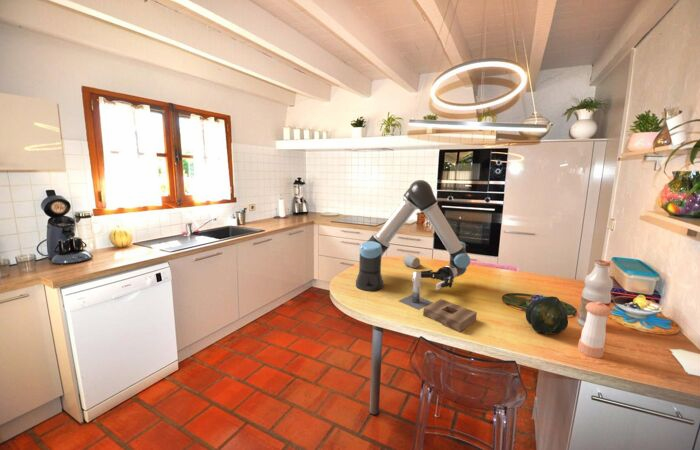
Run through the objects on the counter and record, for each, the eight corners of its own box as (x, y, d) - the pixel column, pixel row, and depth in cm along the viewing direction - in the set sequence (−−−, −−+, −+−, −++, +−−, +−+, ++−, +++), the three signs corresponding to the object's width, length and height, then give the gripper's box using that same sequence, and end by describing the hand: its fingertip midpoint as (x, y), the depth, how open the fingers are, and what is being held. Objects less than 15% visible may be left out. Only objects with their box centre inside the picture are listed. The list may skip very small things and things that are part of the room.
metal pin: (410, 301, 146) (412, 271, 143) (414, 299, 149) (416, 270, 146) (416, 304, 144) (418, 273, 141) (420, 301, 146) (422, 272, 143)
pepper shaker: (599, 360, 104) (609, 308, 100) (574, 350, 110) (583, 300, 106) (606, 353, 108) (616, 303, 105) (581, 343, 114) (590, 295, 110)
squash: (514, 315, 124) (547, 296, 115) (523, 304, 135) (553, 286, 127) (541, 346, 118) (577, 329, 110) (547, 333, 129) (581, 316, 121)
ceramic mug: (412, 269, 193) (413, 257, 192) (403, 266, 200) (404, 254, 198) (423, 266, 200) (424, 255, 198) (414, 263, 206) (415, 252, 205)
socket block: (423, 316, 133) (423, 307, 132) (440, 307, 142) (441, 299, 141) (459, 332, 120) (460, 323, 120) (475, 320, 130) (476, 312, 129)
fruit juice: (575, 317, 134) (585, 256, 129) (602, 323, 130) (614, 260, 124) (578, 327, 126) (590, 262, 121) (607, 333, 121) (621, 266, 116)
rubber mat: (397, 301, 147) (397, 301, 146) (412, 295, 155) (412, 294, 154) (418, 310, 138) (418, 309, 138) (433, 303, 146) (433, 302, 146)
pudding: (557, 307, 144) (558, 297, 143) (551, 315, 136) (552, 305, 135) (529, 299, 153) (530, 289, 152) (521, 306, 144) (523, 296, 143)
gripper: (468, 286, 153) (446, 298, 139) (426, 273, 171) (403, 282, 157) (470, 272, 152) (448, 283, 138) (427, 260, 170) (403, 268, 156)
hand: (424, 282), depth 147 cm, fingers open, 13 cm apart
